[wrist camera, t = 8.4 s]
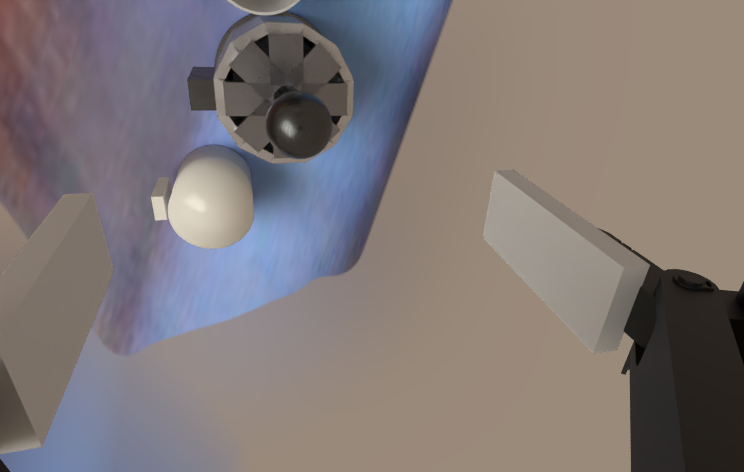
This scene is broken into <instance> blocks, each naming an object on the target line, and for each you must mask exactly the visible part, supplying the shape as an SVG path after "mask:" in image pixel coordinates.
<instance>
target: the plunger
mask: <svg viewBox="0 0 744 472" xmlns="http://www.w3.org/2000/svg"><path fill="white" fill-rule="evenodd" d="M255 43H256V44H257V45H258V46H259V47H260V48H261V49H262V50H263V51H264V52H265V53H266V54H267V55H268V56H269V49H268V34H267V35H265V36H263V37H262V38H260V39H258V40H256V41H255ZM310 49H311V48H310V47H309V46H308V45H307V44H306V43H305V42H304V41H303V56H304V55H305V54H306V53H307V52H308V51H309V50H310ZM241 50H242V49H241ZM241 50H240V51H241ZM240 51H239V52H240ZM239 52H238V53H239ZM233 81H244V80H243V79H242V78H241V77H240V76H239V75H238V74H237V73H236V72H235V71H234V70H233ZM265 128H266V133H267V136H268V139H269V141H270V142H271V144H272V145H273V147H274V148H275V149H276V150H277V151H279V152H280V153H281V154H283V155H285V156H287V157H290V158H294V159H306V158H310V157H313V156H315V155H317V154H318V153H320V152H321V151H322V150H323V149H324V148H325V147H326V145H327V144H328V142H329V140H330V138H331V134H332V118H331V115H330V112H329V110H328V108H327V107H326V105H325V104H324V103H323V102H322V101H321V100H320V99H319V98H318V97H316V96H315V95H313V94H311V93H308V92H304V91H298V90H297V89H296V88H295V87H294V86H281V87H280V88H279V89H278V90H277V91H276V92H275V93H274V102H273V103H272V104H271V106H270V107H269V109H268V111H267V114H266V119H265Z"/></svg>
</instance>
